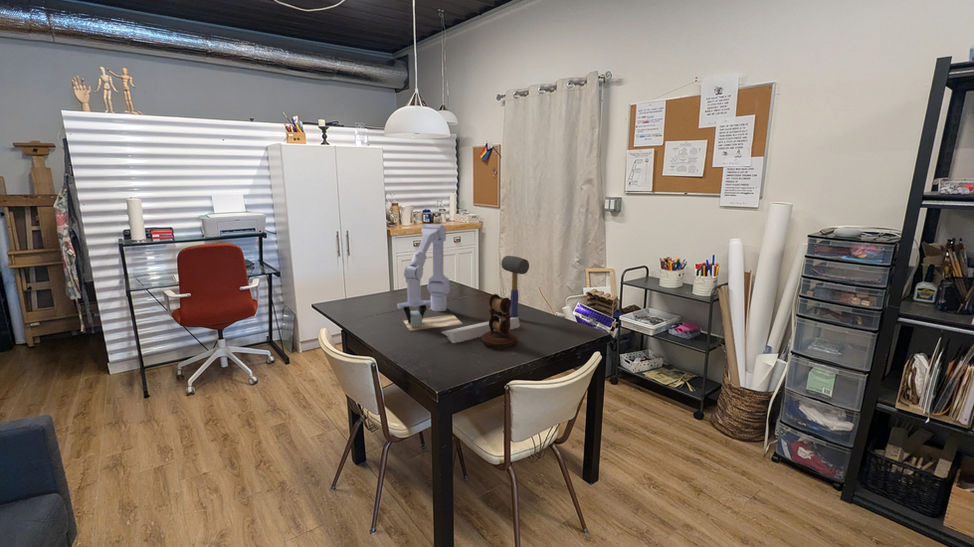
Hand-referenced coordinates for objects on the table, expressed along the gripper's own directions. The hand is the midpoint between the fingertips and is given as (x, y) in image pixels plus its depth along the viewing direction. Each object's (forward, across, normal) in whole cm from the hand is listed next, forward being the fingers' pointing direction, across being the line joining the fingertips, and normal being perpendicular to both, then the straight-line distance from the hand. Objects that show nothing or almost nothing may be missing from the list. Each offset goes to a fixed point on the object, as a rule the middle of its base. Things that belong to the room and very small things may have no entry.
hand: (415, 322), depth 201 cm
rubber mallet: (+3, +46, -5) cm, 46 cm away
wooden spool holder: (+3, +28, -30) cm, 41 cm away
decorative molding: (+3, +26, -15) cm, 30 cm away
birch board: (+2, +8, 0) cm, 8 cm away
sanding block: (+1, 0, 0) cm, 1 cm away
